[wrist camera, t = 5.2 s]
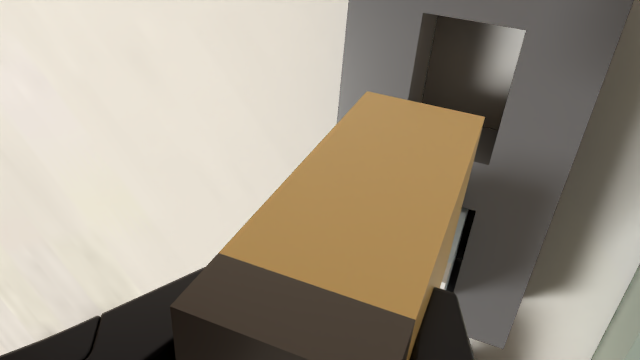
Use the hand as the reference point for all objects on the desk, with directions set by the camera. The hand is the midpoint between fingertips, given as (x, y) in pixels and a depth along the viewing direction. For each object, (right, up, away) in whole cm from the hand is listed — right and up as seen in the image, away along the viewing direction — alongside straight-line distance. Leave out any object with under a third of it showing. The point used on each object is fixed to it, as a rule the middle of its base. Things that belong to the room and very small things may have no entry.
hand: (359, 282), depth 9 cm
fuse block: (+5, +3, +12) cm, 13 cm away
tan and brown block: (+1, +2, +3) cm, 4 cm away
